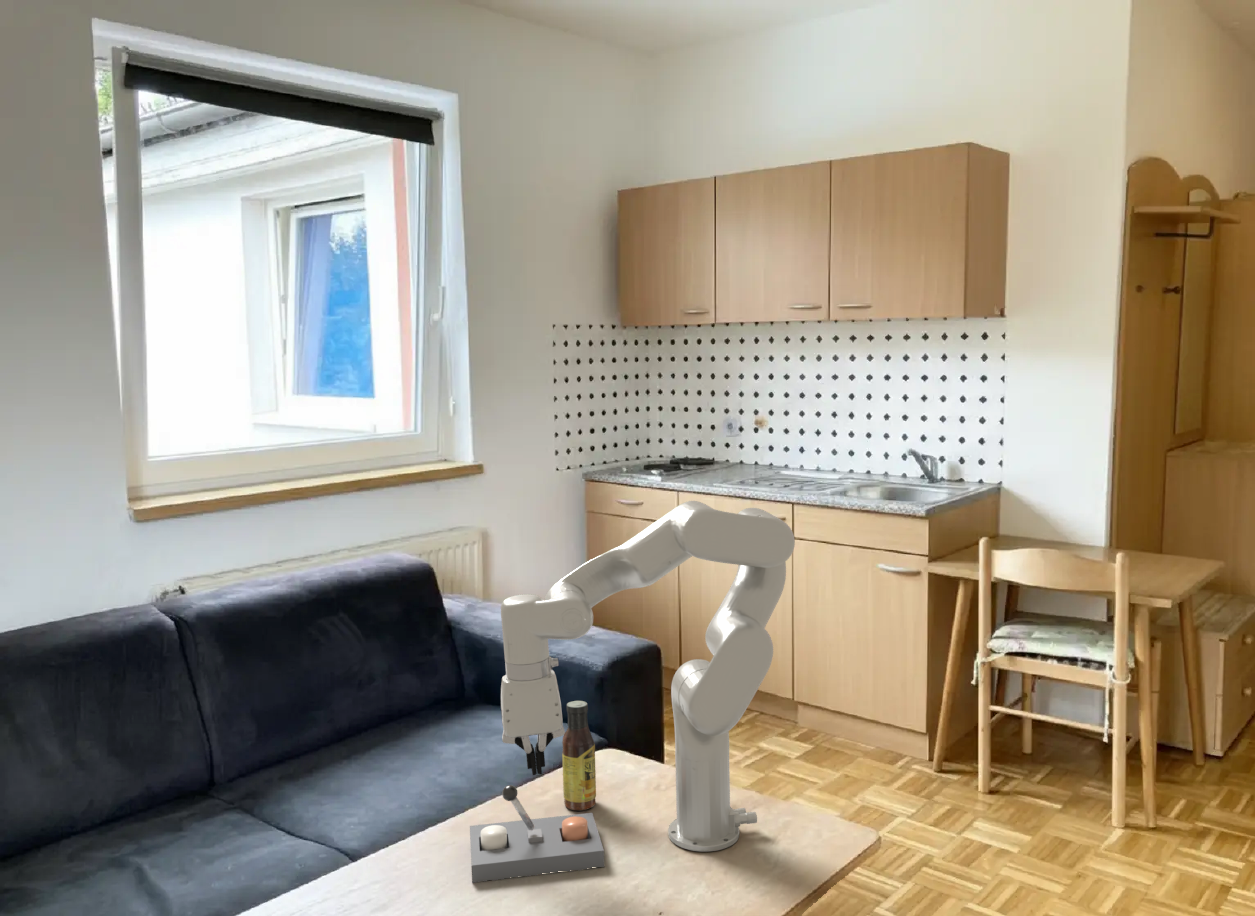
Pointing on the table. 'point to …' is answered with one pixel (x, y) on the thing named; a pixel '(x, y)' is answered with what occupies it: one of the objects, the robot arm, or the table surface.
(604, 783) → the table surface
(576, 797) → the sauce bottle
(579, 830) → the terracotta button
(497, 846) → the offwhite button
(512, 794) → the toggle lever
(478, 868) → the control panel
